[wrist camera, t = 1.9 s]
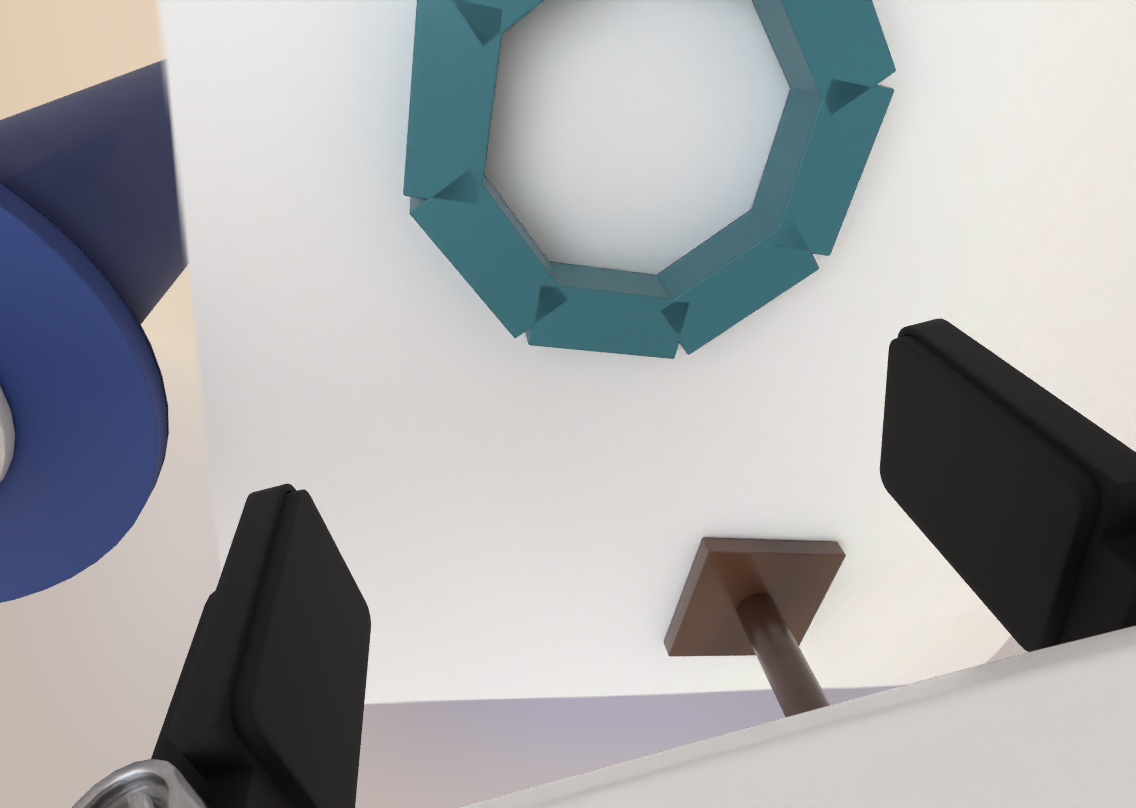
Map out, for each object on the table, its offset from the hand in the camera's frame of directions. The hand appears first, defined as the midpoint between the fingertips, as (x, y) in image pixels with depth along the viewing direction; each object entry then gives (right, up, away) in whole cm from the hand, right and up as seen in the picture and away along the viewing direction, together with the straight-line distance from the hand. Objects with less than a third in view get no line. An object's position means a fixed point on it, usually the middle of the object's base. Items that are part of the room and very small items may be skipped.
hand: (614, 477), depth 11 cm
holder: (+11, -11, +33) cm, 37 cm away
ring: (+2, +12, +17) cm, 21 cm away
